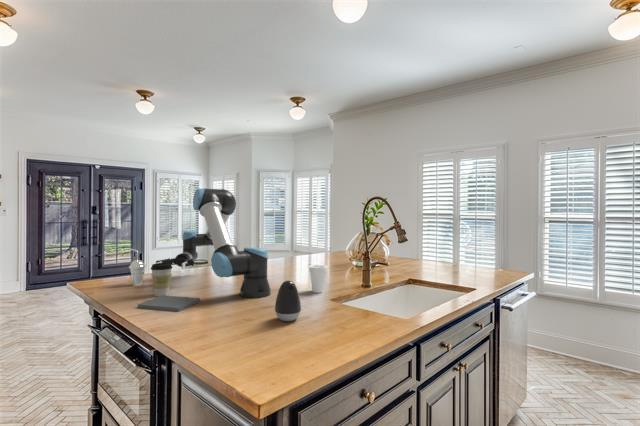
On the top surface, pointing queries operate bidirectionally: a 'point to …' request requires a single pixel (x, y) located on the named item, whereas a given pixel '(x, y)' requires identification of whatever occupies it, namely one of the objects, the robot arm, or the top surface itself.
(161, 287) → the coffee cup
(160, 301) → the mat
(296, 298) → the black egg shaped speaker
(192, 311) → the top surface
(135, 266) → the cup with straw
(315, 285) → the foam cup
